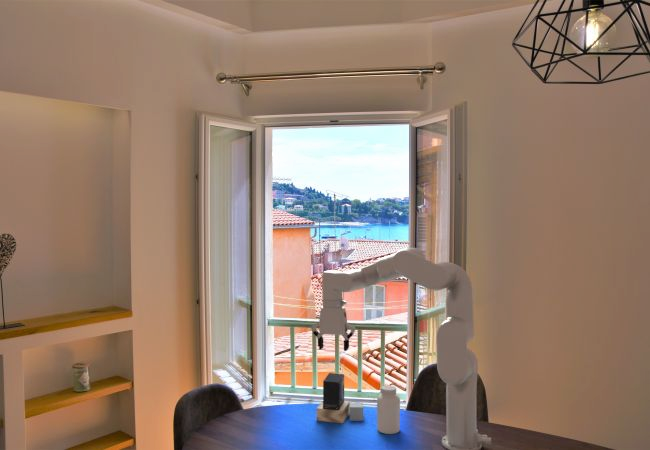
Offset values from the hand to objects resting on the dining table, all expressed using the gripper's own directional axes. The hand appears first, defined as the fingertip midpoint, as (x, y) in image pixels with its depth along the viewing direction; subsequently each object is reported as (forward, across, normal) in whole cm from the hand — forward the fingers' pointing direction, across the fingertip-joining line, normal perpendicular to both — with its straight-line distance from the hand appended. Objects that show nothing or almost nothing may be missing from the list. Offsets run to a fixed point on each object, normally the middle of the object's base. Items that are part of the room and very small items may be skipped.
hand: (333, 349), depth 192 cm
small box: (+21, 0, 0) cm, 21 cm away
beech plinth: (+25, 0, 0) cm, 25 cm away
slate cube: (+26, -8, -2) cm, 27 cm away
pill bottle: (+26, -22, +6) cm, 34 cm away
